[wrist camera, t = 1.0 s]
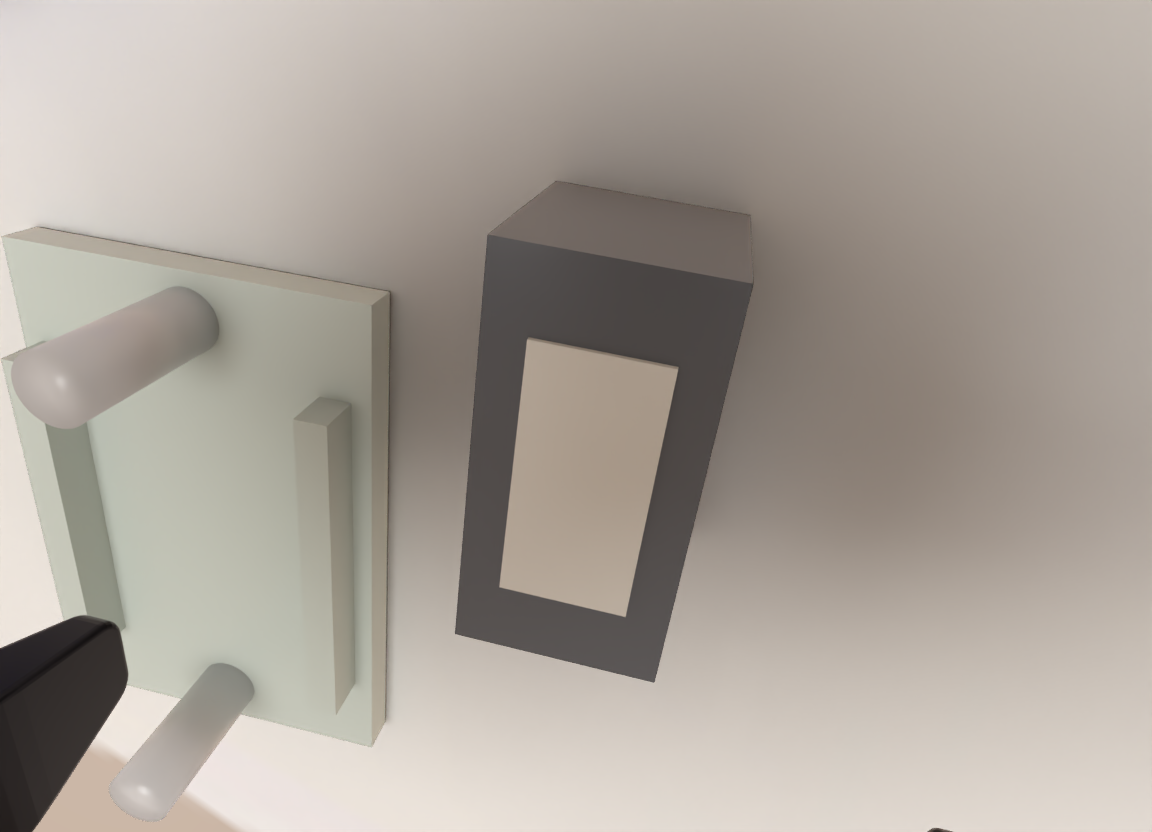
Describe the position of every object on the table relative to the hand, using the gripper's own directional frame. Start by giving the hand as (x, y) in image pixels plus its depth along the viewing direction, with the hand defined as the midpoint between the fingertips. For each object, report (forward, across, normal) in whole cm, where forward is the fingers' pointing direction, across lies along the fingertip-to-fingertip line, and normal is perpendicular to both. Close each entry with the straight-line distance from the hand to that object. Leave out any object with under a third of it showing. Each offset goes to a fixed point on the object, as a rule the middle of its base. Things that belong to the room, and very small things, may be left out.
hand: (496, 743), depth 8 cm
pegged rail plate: (+10, +10, +6) cm, 16 cm away
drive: (+10, 0, 0) cm, 11 cm away
